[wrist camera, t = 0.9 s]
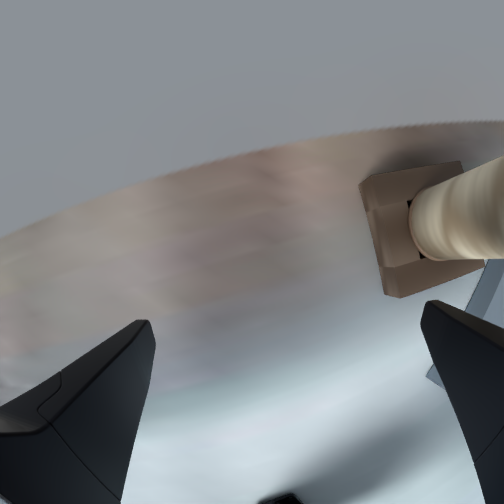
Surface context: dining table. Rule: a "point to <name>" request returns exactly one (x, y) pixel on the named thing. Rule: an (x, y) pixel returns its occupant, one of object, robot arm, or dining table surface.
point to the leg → (461, 216)
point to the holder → (407, 230)
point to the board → (484, 302)
